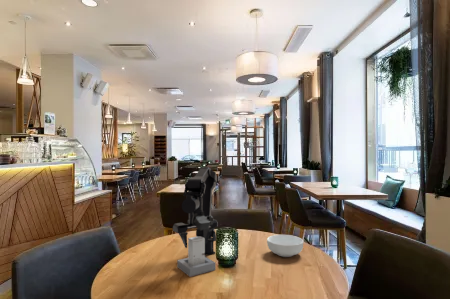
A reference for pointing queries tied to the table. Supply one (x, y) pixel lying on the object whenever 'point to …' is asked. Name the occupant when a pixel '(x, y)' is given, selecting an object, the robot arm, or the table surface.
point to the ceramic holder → (196, 267)
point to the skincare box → (196, 250)
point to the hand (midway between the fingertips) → (196, 245)
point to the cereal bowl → (285, 245)
